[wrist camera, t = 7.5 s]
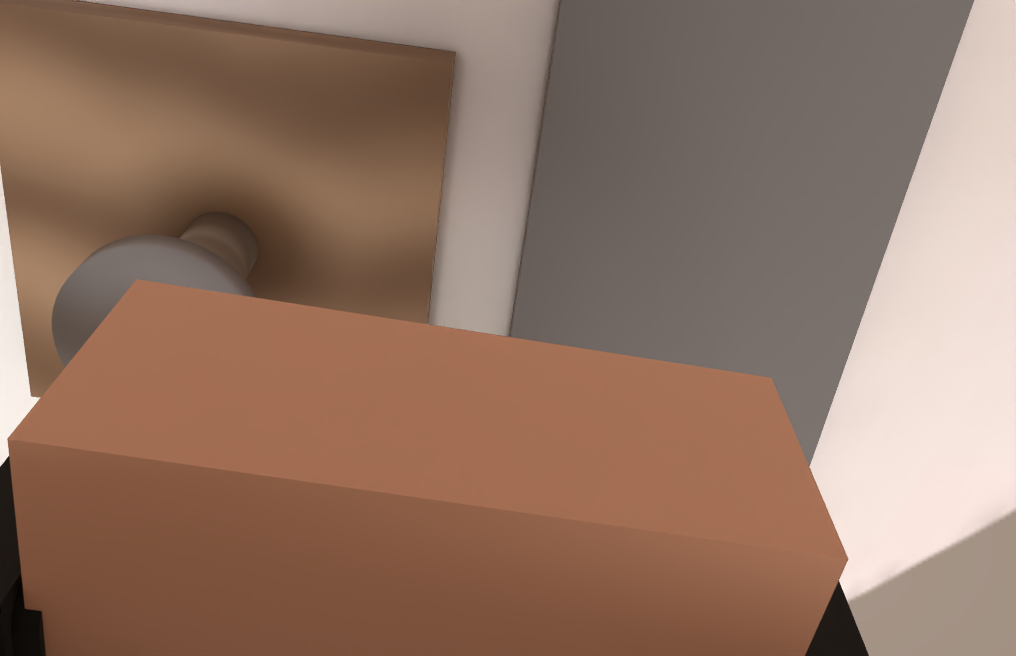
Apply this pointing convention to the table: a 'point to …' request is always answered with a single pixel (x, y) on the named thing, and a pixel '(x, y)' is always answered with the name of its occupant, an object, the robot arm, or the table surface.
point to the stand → (212, 166)
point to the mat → (727, 180)
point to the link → (406, 494)
